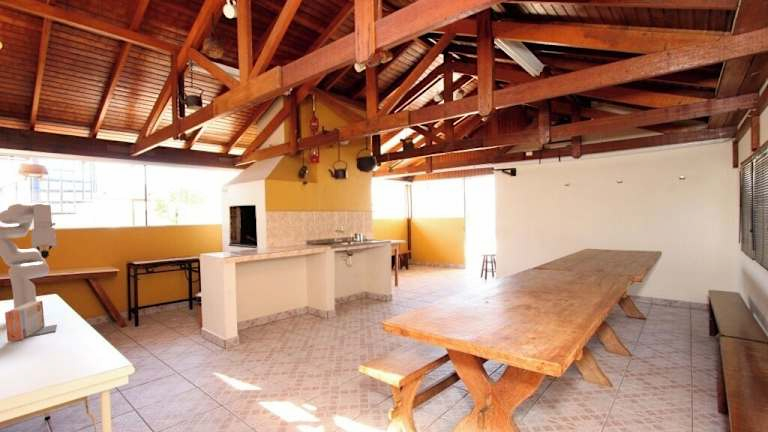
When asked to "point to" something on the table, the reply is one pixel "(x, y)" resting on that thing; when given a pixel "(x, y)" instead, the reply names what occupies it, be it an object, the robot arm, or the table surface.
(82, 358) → the table surface
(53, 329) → the mat
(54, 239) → the robot arm
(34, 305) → the cracker box
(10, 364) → the table surface
